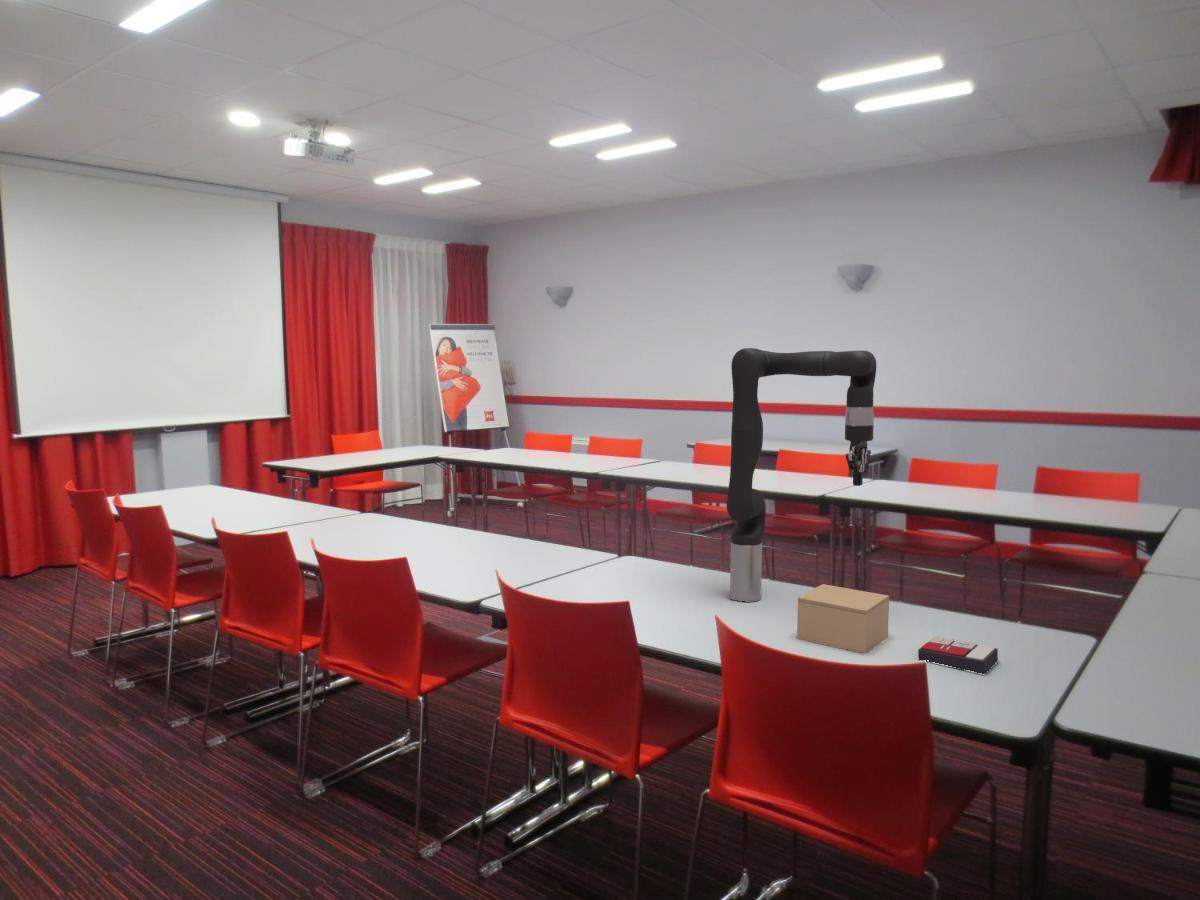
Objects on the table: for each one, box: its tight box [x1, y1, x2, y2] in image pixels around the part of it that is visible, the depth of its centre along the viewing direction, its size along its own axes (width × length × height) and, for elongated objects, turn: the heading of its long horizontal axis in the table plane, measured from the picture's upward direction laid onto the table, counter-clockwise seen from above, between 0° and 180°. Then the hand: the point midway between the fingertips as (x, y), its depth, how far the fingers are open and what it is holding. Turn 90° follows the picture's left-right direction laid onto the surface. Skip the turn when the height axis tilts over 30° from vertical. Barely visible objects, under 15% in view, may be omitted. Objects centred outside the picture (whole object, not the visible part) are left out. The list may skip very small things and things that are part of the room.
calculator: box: [917, 636, 999, 674], centre depth 193 cm, size 11×4×15 cm
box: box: [796, 598, 890, 654], centre depth 209 cm, size 16×18×10 cm
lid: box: [797, 583, 890, 614], centre depth 208 cm, size 16×18×1 cm
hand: (857, 485), depth 224 cm, fingers closed
